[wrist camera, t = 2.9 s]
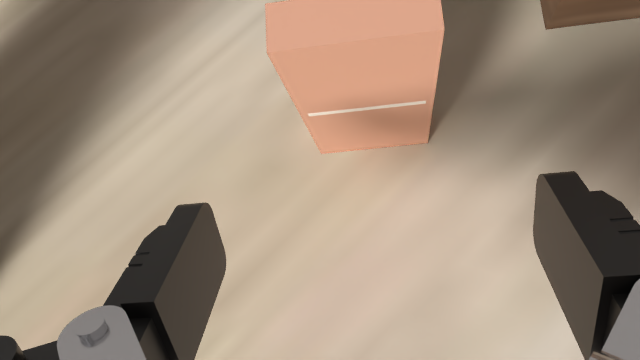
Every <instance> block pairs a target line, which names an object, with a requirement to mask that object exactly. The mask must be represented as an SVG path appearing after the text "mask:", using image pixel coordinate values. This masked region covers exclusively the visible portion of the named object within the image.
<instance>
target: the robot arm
mask: <svg viewBox="0 0 640 360" xmlns="http://www.w3.org/2000/svg"><path fill="white" fill-rule="evenodd" d="M533 236H534V244H535V248H536V252H537V255H538V257H539V259H540V261H541V264H542V266H543V268H544V270H545V273H546V275H547V277H548V279H549V281H550V284H551V286H552V288H553V290H554V292H555V295H556V297H557V299H558V301H559V303H560V306H561V308H562V310H563V312H564V314H565V317H566V319H567V321H568V323H569V326H570V328H571V330H572V332H573V334H574V337H575V339H576V341H577V343H578V345H579V348H580V350H581V352H582V354H583V356H584V359H585V360H640V225H639V224H638V223H637V221H636V220H633V216H632V215H631V214H630V212H629V211H628V210H627V209H626V207H625V206H624V205H623V203H622V202H620V201H618V200H617V199H615V198H613V197H612V196H610V195H608V194H607V193H605V192H604V191H589V190H588V188H587V187H586V185H585V184H584V183H583V181H582V180H581V178H580V177H579V176H578V174H577V173H576V172H574V171H571V172H560V173H548V174H540V175H539V176H538V179H537V184H536V198H535V211H534V225H533ZM128 265H129V267H127V268H126V269H125V271H124V272H123V274H122V276H121V277H120V279H119V280H118V282H117V284H116V285H115V287H114V289H113V290H112V292H111V293H110V295H109V297H108V298H107V300H106V302H105V303H104V305H103V306H101V307H97V308H93V309H91V310H88V311H86V312H84V313H82V314H81V315H79V316H78V317H76V318H75V319H73V320H72V321H71V322H70V323H69V324H68V325H67V326H66V327H65V328H64V329H63V330H62V332H61V334H60V335H59V338H58V341H54V342H51V343H48V344H44V345H41V346H38V347H34V348H31V349H28V350H24V351H22V350H21V349H20V347H19V346H18V344H17V343H16V341H15V340H14V339H13V338H11V337H9V336H0V360H194V359H195V356H196V353H197V350H198V347H199V345H200V342H201V339H202V336H203V333H204V331H205V328H206V325H207V322H208V319H209V317H210V314H211V311H212V308H213V305H214V303H215V300H216V297H217V294H218V291H219V289H220V286H221V283H222V280H223V277H224V275H225V270H226V255H225V250H224V246H223V243H222V240H221V237H220V234H219V230H218V227H217V224H216V221H215V218H214V214H213V211H212V209H211V207H210V205H209V204H208V203H196V204H184V205H178V206H177V207H176V208H175V209H174V211H173V213H172V215H171V216H170V218H169V220H168V222H167V223H166V225H162V226H158V227H157V228H156V229H155V230H154V231H153V232H151V233H150V234H149V235H148V236H147V237H146V238H144V240H143V241H142V243H141V245H140V246H139V248H138V250H137V251H136V256H133V258H132V259H131V261H130V263H129V264H128Z"/></svg>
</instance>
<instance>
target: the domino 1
mask: <svg viewBox="0 0 640 360" xmlns="http://www.w3.org/2000/svg"><path fill="white" fill-rule="evenodd" d="M265 10H266V42H267V54H268V56H269V58H270V60H271V61H272V63H273V65H274V67H275V69H276V71H277V73H278V74H279V76H280V78H281V80H282V82H283V84H284V86H285V87H286V89H287V91H288V93H289V95H290V97H291V99H292V100H293V102H294V104H295V106H296V108H297V110H298V112H299V113H300V115H301V117H302V119H303V121H304V123H305V124H306V126H307V128H308V130H309V132H310V134H311V136H312V137H313V139H314V141H315V143H316V145H317V147H318V149H319V150H320V152H321V154H323V153H333V152H343V151H353V150H363V149H373V148H383V147H393V146H403V145H413V144H423V143H428V138H429V131H430V124H431V118H432V111H433V104H434V97H435V91H436V84H437V77H438V70H439V64H440V57H441V50H442V43H443V37H444V30H445V29H444V21H443V14H442V6H441V0H288V1H281V2H274V3H267V4H265Z"/></svg>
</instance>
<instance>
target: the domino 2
mask: <svg viewBox="0 0 640 360" xmlns="http://www.w3.org/2000/svg"><path fill="white" fill-rule="evenodd" d="M540 2H541V7H542V12H543V18H544V23H545V28H546V29H553V28H561V27H569V26H576V25H584V24H592V23H600V22H608V21H616V20H624V19H632V18H639V17H640V0H540Z"/></svg>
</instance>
